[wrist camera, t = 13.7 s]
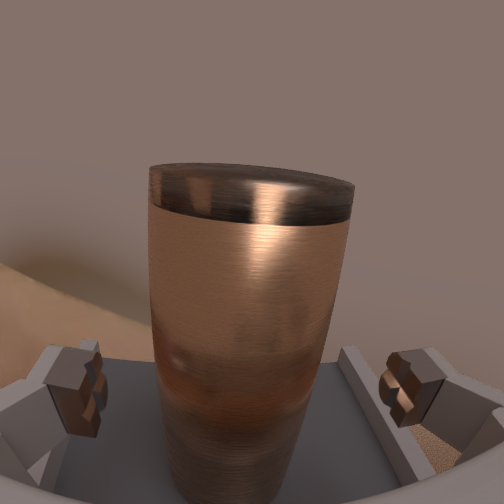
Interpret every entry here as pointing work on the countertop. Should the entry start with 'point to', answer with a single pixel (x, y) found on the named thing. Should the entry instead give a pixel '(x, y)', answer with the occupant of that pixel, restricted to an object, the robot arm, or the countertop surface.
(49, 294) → the countertop surface
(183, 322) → the canister
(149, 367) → the grey rimmed tray
